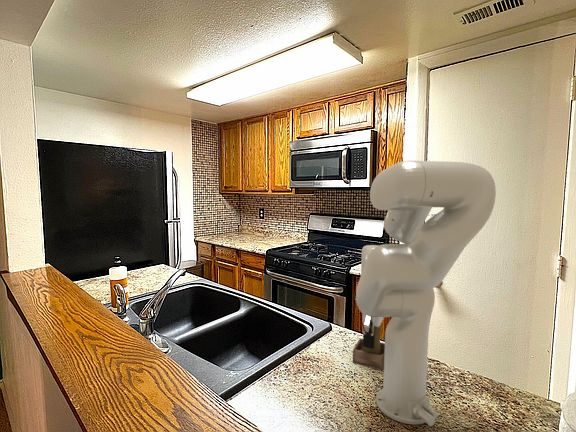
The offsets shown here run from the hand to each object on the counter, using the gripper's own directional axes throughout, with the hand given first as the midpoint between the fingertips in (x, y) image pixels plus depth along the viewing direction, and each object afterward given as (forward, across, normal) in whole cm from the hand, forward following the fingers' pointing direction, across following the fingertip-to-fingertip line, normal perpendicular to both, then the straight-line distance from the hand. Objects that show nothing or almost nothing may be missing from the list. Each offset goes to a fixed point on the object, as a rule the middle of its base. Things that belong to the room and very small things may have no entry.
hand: (371, 341), depth 96 cm
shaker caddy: (+6, 0, 0) cm, 6 cm away
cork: (+5, 0, 0) cm, 5 cm away
